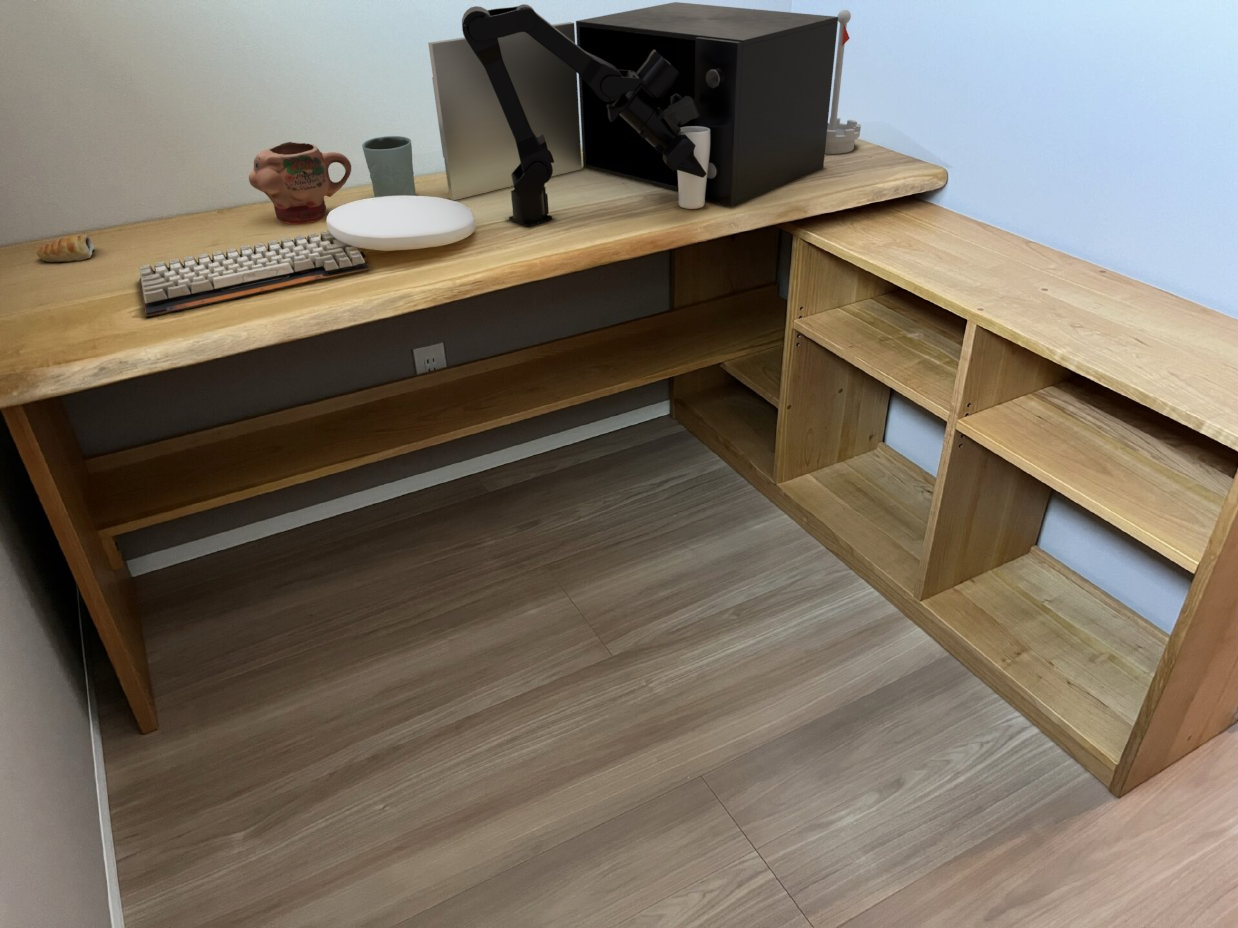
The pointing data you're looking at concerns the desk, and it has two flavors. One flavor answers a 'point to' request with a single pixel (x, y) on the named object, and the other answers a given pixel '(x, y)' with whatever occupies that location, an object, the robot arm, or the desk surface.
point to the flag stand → (838, 133)
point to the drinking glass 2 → (690, 184)
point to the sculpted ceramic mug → (297, 180)
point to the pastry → (67, 249)
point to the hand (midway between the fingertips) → (700, 170)
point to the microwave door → (477, 121)
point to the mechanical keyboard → (245, 271)
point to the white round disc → (401, 222)
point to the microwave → (718, 93)
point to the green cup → (390, 165)
